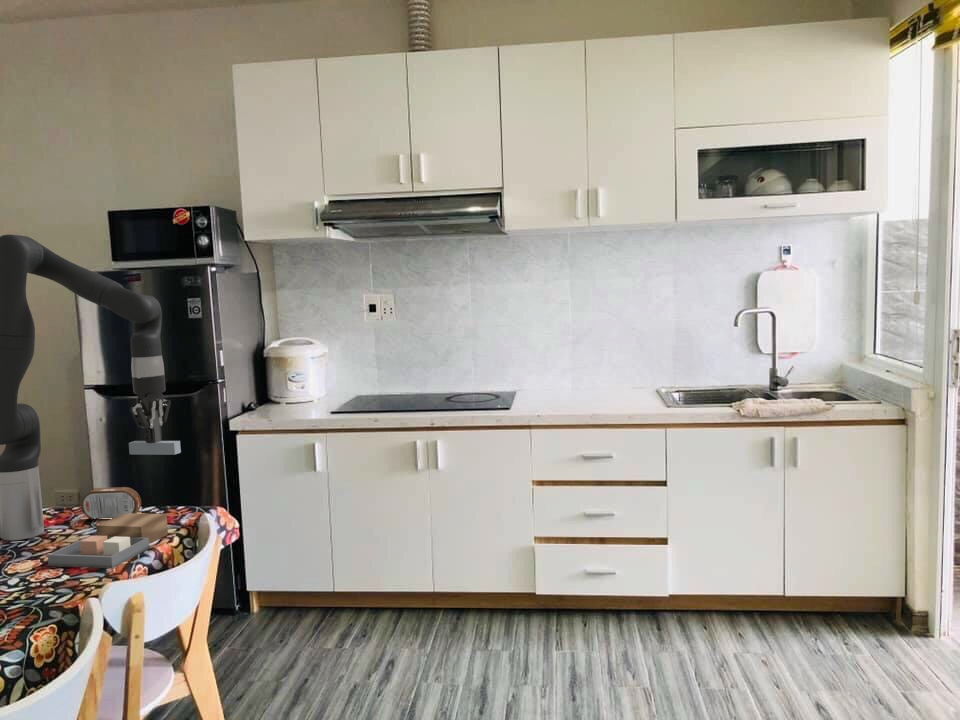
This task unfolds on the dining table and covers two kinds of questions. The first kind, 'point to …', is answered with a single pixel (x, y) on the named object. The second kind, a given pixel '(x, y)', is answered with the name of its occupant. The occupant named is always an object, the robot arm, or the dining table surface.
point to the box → (96, 555)
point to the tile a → (92, 544)
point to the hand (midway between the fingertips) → (153, 441)
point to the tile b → (115, 545)
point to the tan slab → (135, 526)
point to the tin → (110, 502)
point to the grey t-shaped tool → (155, 443)
